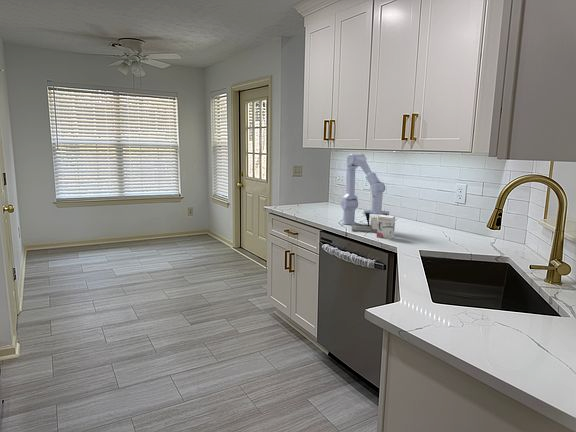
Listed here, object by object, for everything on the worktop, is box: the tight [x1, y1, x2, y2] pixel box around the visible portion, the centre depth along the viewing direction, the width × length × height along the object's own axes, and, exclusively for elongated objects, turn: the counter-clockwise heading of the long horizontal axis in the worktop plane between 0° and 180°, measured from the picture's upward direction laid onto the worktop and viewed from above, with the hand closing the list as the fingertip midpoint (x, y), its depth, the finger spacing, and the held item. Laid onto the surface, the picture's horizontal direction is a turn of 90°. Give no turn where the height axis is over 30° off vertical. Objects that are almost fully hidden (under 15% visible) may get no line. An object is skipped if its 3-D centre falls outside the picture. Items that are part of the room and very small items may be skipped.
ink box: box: [376, 215, 396, 240], centre depth 221 cm, size 9×5×12 cm, turn 62°
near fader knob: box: [372, 218, 378, 230], centre depth 236 cm, size 5×4×5 cm
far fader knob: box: [369, 216, 378, 226], centre depth 245 cm, size 5×4×5 cm
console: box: [351, 223, 377, 234], centre depth 241 cm, size 17×19×1 cm
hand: (375, 226), depth 236 cm, fingers open, 7 cm apart
